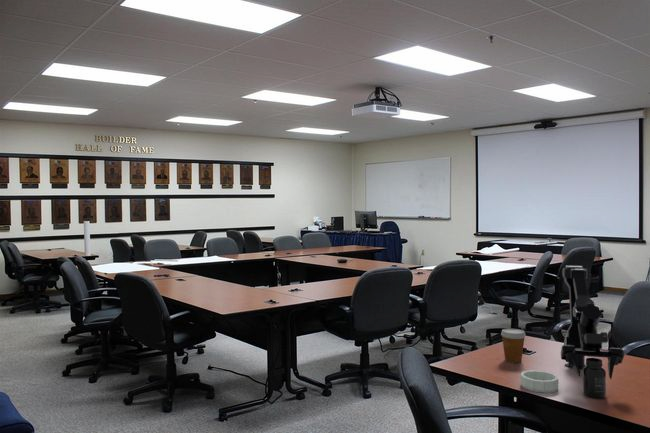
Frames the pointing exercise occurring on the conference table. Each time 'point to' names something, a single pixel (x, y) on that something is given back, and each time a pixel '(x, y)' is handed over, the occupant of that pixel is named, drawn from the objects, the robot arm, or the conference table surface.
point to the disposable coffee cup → (513, 344)
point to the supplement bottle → (594, 379)
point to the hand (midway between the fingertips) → (595, 377)
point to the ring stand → (539, 381)
